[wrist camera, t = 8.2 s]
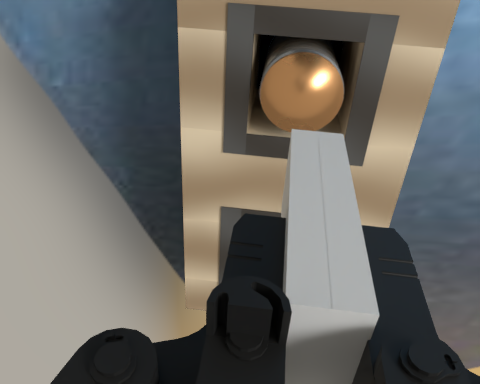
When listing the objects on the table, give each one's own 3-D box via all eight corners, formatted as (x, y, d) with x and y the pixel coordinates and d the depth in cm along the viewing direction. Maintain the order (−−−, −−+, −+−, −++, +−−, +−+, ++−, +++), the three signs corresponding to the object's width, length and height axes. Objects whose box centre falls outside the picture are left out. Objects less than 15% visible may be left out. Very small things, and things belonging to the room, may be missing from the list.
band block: (205, -56, 23) (174, -48, 17) (424, -41, 22) (470, -28, 17) (203, 244, 35) (185, 309, 29) (346, 260, 35) (356, 330, 29)
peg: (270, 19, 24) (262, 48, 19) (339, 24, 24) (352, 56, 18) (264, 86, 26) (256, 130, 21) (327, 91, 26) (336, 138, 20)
